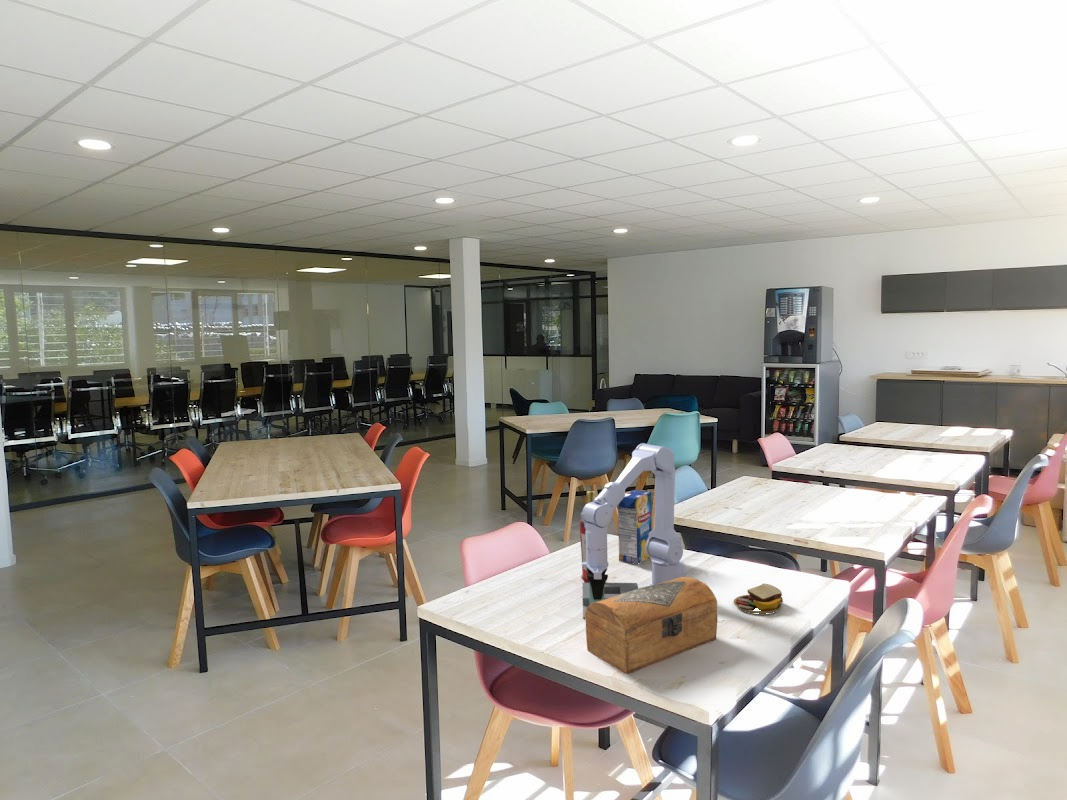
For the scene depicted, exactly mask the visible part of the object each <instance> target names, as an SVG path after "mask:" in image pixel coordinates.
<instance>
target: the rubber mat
mask: <svg viewBox="0 0 1067 800" xmlns="http://www.w3.org/2000/svg"><path fill="white" fill-rule="evenodd" d="M587 607H588V606H584V605H583V604H582V619H584V620H585V609H587Z"/></svg>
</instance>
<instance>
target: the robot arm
mask: <svg viewBox="0 0 1067 800" xmlns="http://www.w3.org/2000/svg"><path fill="white" fill-rule="evenodd" d="M648 471H650V472H651V473H652V474H654V475H655V494H654V495H655V497H654V499H655V500H654V528H652V531H651V532H649V538H648V541H647V544H646V551H647V554H648V555H649V556H650V557H649V559H650V561H651V584H649V586H651V585H656V584H660V583H663V582H666V581H670V580H673V579H677V578H681V577H686V571H685V570H686V568H685V564H684V561H681V560H682V557H683V555H684V554H683V553H684V548H683V545H682V540H681V539H682V538H681V536H680V534H679V533H678V532H677V531H676V530H675V527H674V526H675V521H674V520H675V495H676V494H675V489H676V487H675V486H676V482H675V481H676V468H675V452H673V451H672V449H670V448H669V447H668V446H660V445H654V444H648V443H645V442H642V443H640V444H638V445H637V446H636V447H635V449H634V450H633V451H632V452H631V459H630V461H629V462H628V463H627V465H626V466H625V467H624V469H623V470H622V472H621V473H619V474H620V475H619V476H618V478H617V479H616V480H615V481H610V482H608V483H605V485H604V486H603V487H604V488H603V489H602V490H601V491H600V492H599V493H598V494H597V496H595V499H594V501H593V502H590V503H588V504H587V503H586V504H585V505H584V507H583V508H582V511H581V512H580V517H581V519H582V520H583V521H584V526H585V528H586V562H582V561H581V567H582V566H583V567H587V571H588V573H587V578H588V580H589V582H590V585H591V589H592V594H593V598H594V600H601V599H602V596H603V589H604V585H605V583H607V581H608V578H609V574H608V573H607V574H606V572H607V571H608V567H609V561H608V525H609V524H610V523H611V521H612V518H613V514H614V511H615V509H616V508H618V504H619V503H620V502H621V501H622V499H623V498H624V497H625V493H626V489H627V488H629V486H631V484H632V483H633V482H634V481H635V480H636V479H637V478H638V477H639V476H640V475H641V474H642V473H643V472H648Z"/></svg>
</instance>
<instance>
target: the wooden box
mask: <svg viewBox="0 0 1067 800" xmlns="http://www.w3.org/2000/svg"><path fill="white" fill-rule="evenodd" d="M584 620H585V636H586V637H585V638H586V650H587V652H590V653H591V654H593V655H595V656H596V657H597V658H600V660H603V661H604V662H606V663H608V664H610V666H612V667H614V668H616V669H618V670H619V671H621V672H623V673H625V674H627V675H628V674H629V675H630V674H631V673H634V672H636V671H639V670H641V669H644V668H647V667H649V666H651V665H654V664H657V663H659V662H662V661H665V660H666V659H667V660H668V659H669V658H672V657H674V656H678V655H680V654H682V653H684V652H687V651H690V650H692V649H695V648H698V647H700V646H703V645H705V644H709V643H712V642H713V641H715V640H716V639H717V633H718V632H717V629H718V600H717V597H716V595H715V593H714V592H713V590H712V589H711V588H710V587H709V585H707V584H706V583H705V582H703V581H701V580H699V579H698V578H697V579H696V578H694V577H690V576H685V577H681V578H677V579H673V580H670V581H666V582H663V583H660V584H656V585H651V586H650V585H647V586H643V587H638V589H636V590H633V591H630V592H627V593H624V594H621V595H618V596H614V597H611V598H608V599H605V600H602V601H598V602H594V603H591V604H590V605H589V606H588V607H587V609H585V619H584Z"/></svg>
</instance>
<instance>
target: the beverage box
mask: <svg viewBox="0 0 1067 800" xmlns="http://www.w3.org/2000/svg"><path fill="white" fill-rule="evenodd" d="M617 509H618V510H617V511H618V515H617V516H618V518H617V519H618V562H622V563H627V562H628V563H627V564H632V563H634V564H633V565H639V564H641V563H642V562H644V561H646V560H647V559H649V558H650V556H649V555H648V554H647V551H646V544H647V541H648V538H649V532H651V531H652V530H653V526H652V523H653V520H652V519H653V518H652V517H653V515H652V512H653V511H652V509H653V508H652V491H645V490H636V489H633V490H630V491H628V492H625V497H624V498H623V499H622V501H621V502H620V503H619V504H618V505H617ZM648 557H649V558H648ZM646 558H647V559H646ZM643 560H644V561H643ZM640 562H641V563H640ZM638 563H639V564H638Z"/></svg>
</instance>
